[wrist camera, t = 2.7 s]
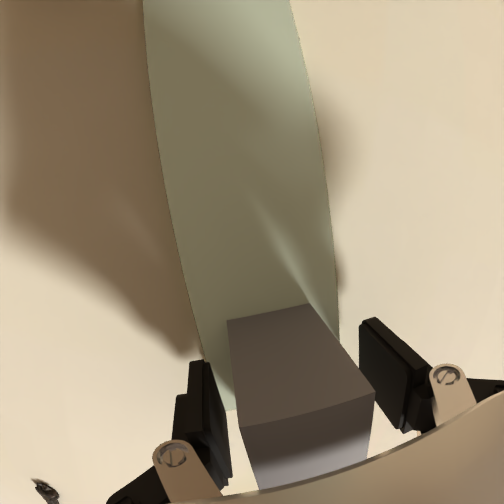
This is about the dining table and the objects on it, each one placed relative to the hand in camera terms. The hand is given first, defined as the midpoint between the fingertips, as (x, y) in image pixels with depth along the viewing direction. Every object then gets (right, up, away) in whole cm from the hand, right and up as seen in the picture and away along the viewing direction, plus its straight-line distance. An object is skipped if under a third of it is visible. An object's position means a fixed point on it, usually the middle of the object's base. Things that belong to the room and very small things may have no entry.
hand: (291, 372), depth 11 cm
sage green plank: (-2, +9, 0) cm, 9 cm away
